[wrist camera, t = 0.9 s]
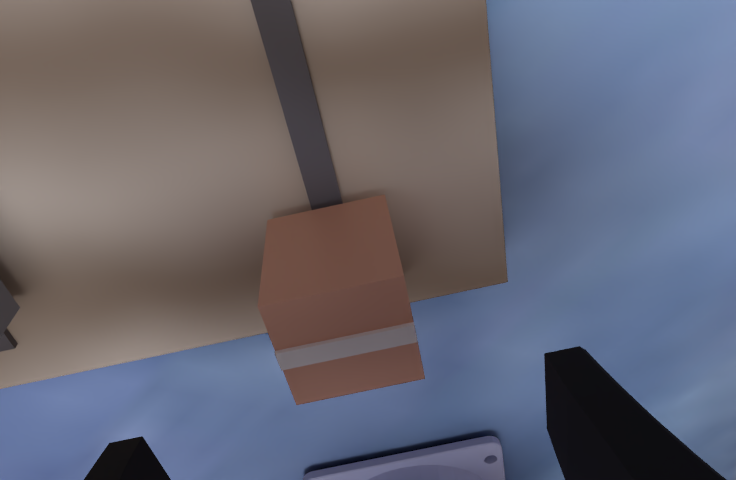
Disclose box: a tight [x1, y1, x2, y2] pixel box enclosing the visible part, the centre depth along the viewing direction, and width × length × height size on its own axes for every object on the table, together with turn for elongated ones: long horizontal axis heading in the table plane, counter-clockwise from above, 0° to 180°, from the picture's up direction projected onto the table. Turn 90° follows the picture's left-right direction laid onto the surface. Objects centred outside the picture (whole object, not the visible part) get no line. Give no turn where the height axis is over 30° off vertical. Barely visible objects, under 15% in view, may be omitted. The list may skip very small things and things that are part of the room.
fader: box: [258, 194, 425, 405], centre depth 14 cm, size 3×3×4 cm
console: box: [0, 0, 508, 389], centre depth 13 cm, size 16×19×2 cm
